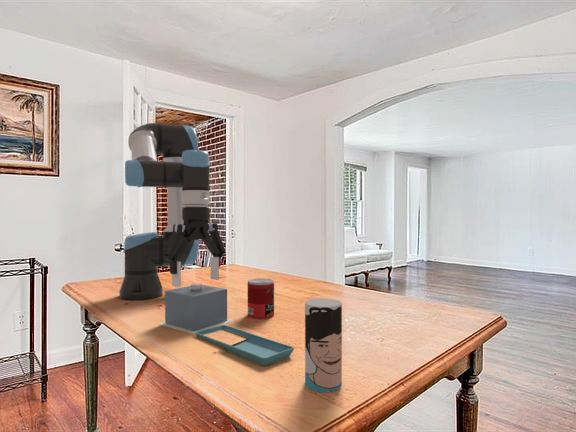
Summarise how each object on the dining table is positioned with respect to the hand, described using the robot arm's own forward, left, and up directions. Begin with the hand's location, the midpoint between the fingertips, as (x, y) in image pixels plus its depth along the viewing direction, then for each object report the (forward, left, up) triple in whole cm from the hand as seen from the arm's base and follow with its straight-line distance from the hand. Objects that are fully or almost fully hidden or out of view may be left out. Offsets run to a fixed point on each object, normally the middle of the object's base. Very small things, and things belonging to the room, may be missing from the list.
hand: (196, 282), depth 109 cm
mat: (0, 0, -12) cm, 12 cm away
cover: (0, 0, -11) cm, 11 cm away
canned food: (+10, +16, -12) cm, 22 cm away
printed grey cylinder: (+48, -11, -12) cm, 50 cm away
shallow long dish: (+22, -6, -12) cm, 26 cm away
